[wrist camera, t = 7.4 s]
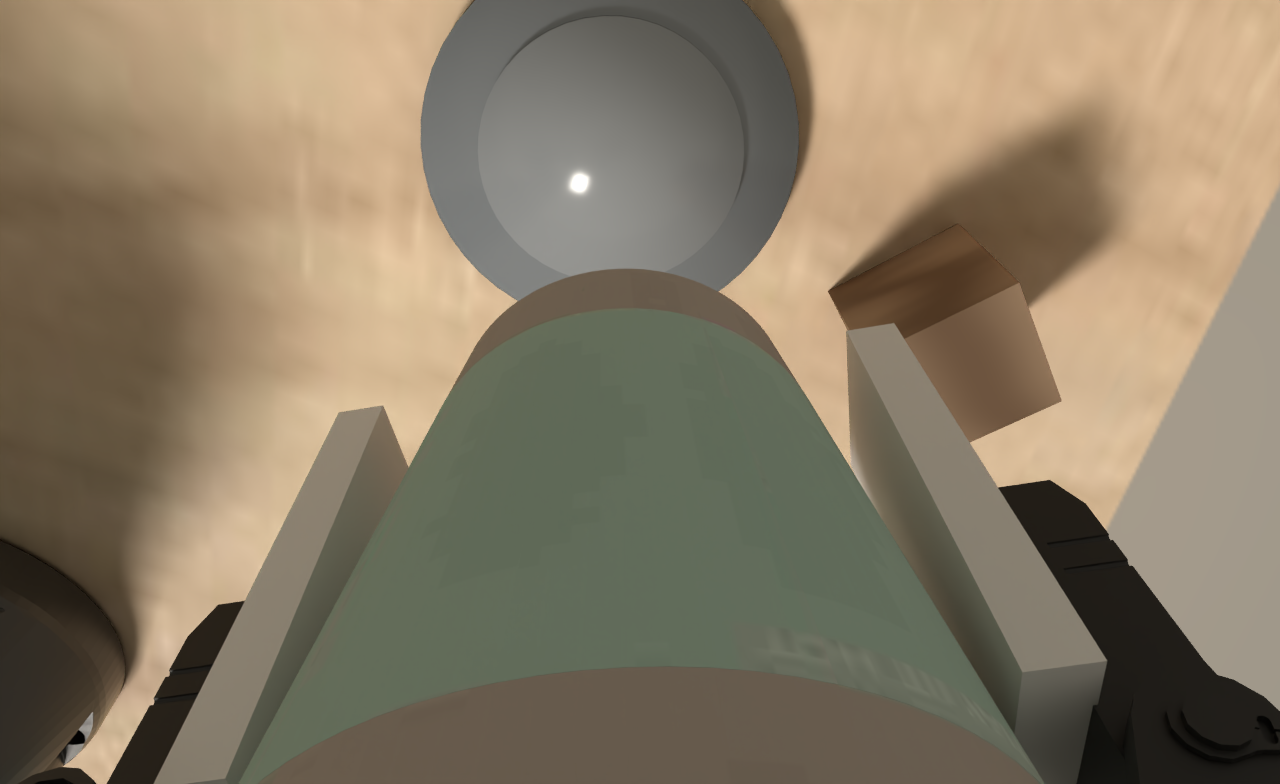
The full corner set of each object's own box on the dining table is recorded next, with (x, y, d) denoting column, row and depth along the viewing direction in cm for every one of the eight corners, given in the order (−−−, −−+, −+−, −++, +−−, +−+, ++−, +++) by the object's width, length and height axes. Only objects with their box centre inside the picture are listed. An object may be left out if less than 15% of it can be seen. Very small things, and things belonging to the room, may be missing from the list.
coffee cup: (506, 633, 17) (362, 1714, 7) (277, 289, 13) (-964, 1850, 3) (907, 522, 16) (1429, 1657, 6) (805, 94, 11) (2261, 1749, 1)
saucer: (484, 341, 30) (480, 355, 29) (370, -12, 24) (361, -8, 23) (805, 283, 30) (812, 296, 29) (777, -97, 23) (785, -96, 22)
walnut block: (876, 388, 32) (918, 465, 28) (827, 290, 30) (865, 358, 26) (998, 329, 31) (1061, 401, 27) (957, 222, 29) (1019, 282, 24)
